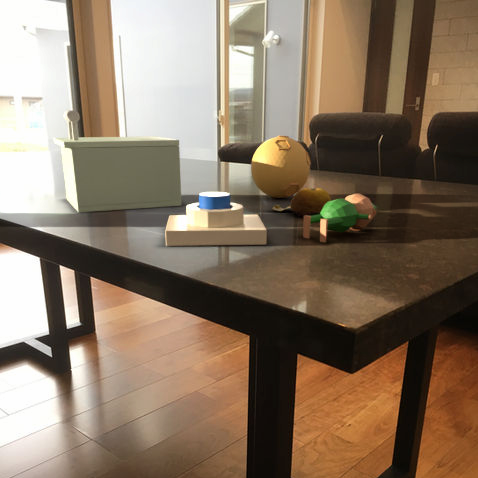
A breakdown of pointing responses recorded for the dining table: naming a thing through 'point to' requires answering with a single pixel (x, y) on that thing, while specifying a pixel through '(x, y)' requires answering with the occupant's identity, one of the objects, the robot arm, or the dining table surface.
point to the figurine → (342, 215)
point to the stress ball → (280, 167)
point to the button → (214, 200)
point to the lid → (105, 138)
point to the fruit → (307, 202)
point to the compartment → (122, 177)
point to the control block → (215, 227)
